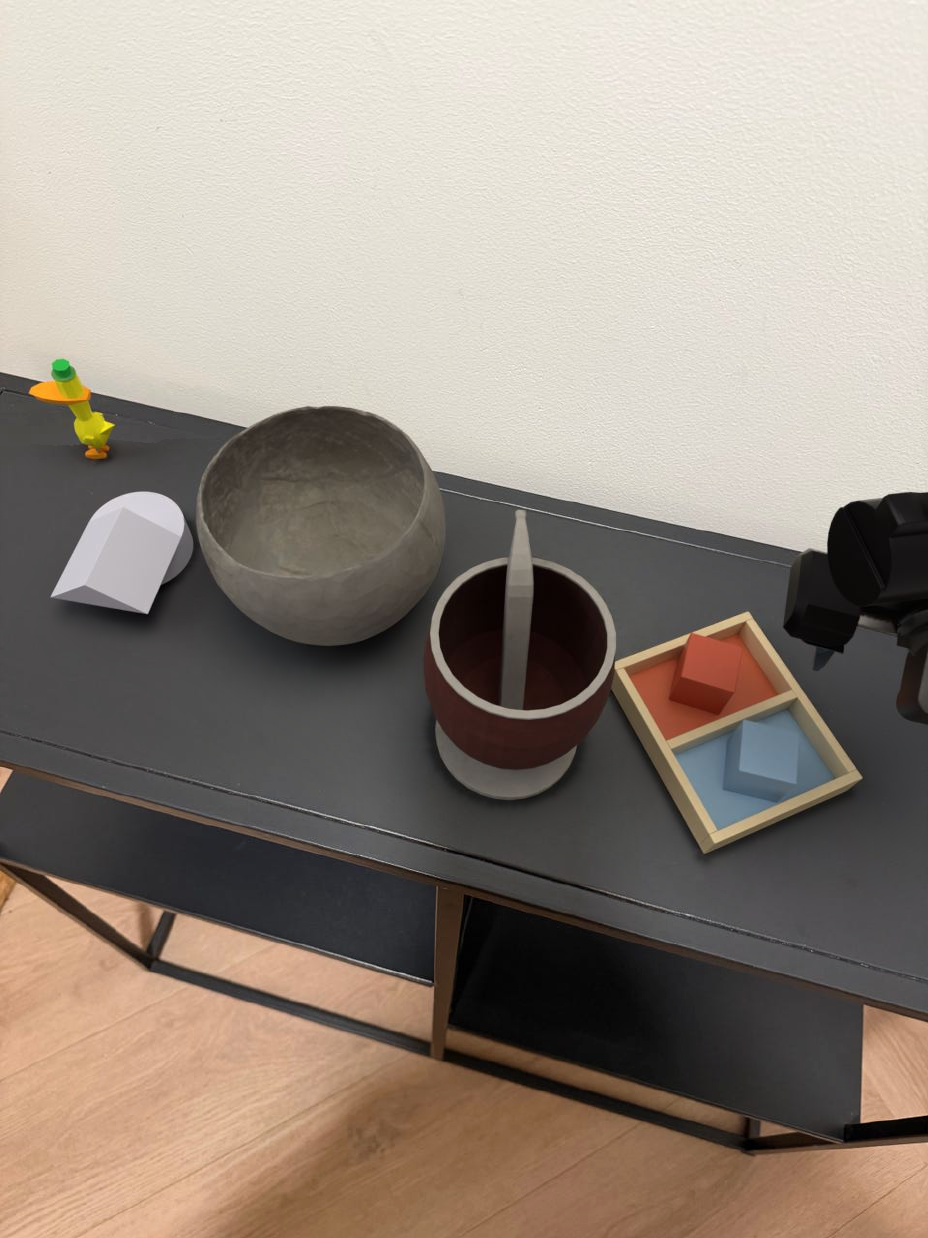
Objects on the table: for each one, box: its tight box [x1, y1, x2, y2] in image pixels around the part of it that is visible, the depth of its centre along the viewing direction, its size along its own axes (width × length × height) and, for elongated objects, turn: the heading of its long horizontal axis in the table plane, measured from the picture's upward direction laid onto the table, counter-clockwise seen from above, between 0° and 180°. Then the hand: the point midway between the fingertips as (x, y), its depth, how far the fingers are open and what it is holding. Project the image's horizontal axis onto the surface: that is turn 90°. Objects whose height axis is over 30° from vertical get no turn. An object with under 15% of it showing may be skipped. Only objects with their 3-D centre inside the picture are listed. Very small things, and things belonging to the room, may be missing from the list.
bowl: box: [195, 405, 447, 647], centre depth 73 cm, size 20×20×15 cm
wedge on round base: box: [50, 491, 194, 615], centre depth 77 cm, size 9×7×13 cm
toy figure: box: [28, 358, 115, 460], centre depth 82 cm, size 7×4×12 cm, turn 87°
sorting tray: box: [611, 611, 863, 855], centre depth 71 cm, size 14×17×3 cm
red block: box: [669, 632, 743, 715], centre depth 72 cm, size 4×4×4 cm
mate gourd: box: [422, 509, 617, 801], centre depth 64 cm, size 16×14×20 cm
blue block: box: [723, 720, 799, 802], centre depth 68 cm, size 4×4×4 cm
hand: (878, 682), depth 62 cm, fingers open, 9 cm apart
